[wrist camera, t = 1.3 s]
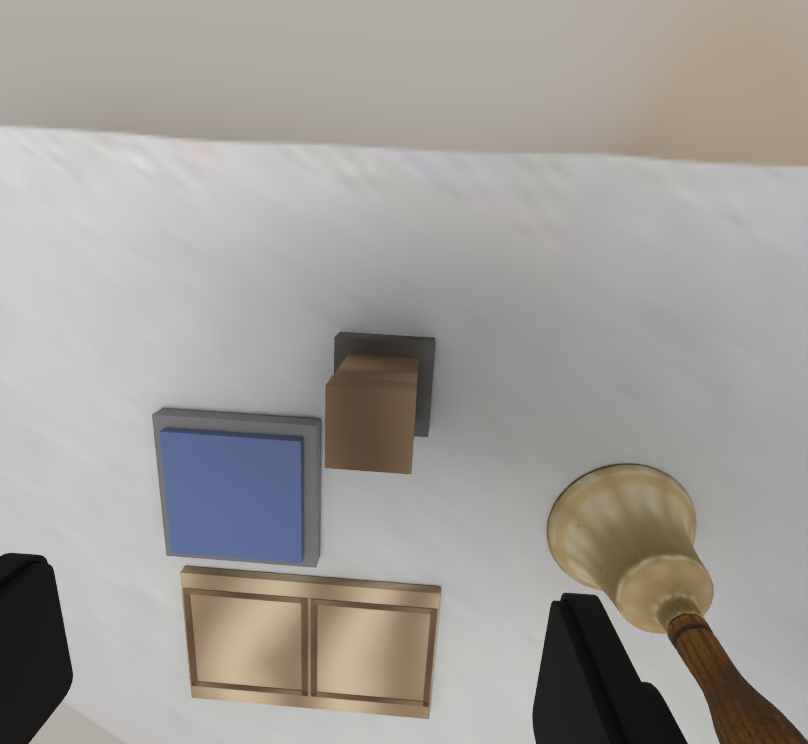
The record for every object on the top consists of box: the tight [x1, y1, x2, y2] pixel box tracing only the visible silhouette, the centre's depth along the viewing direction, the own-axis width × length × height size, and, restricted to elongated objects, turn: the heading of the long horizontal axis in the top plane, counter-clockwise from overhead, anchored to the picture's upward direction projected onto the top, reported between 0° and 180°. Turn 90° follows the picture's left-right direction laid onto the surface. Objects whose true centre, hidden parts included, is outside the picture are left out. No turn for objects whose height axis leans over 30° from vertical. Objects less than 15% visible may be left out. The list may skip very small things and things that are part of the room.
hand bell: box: [547, 465, 808, 744], centre depth 19 cm, size 8×8×16 cm
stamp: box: [325, 332, 435, 474], centre depth 21 cm, size 5×5×7 cm
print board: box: [180, 566, 441, 719], centre depth 29 cm, size 16×10×1 cm, turn 87°
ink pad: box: [152, 408, 321, 568], centre depth 26 cm, size 9×9×2 cm
